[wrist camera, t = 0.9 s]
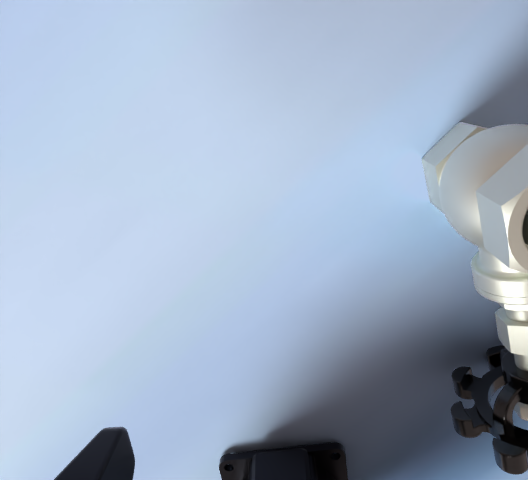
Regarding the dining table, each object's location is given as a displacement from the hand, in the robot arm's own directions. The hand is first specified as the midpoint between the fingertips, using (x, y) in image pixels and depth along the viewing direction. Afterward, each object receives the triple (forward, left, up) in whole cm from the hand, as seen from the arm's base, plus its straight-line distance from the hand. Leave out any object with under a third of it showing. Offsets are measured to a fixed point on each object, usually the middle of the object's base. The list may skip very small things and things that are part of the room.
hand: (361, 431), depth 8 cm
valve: (-2, -7, -11) cm, 14 cm away
